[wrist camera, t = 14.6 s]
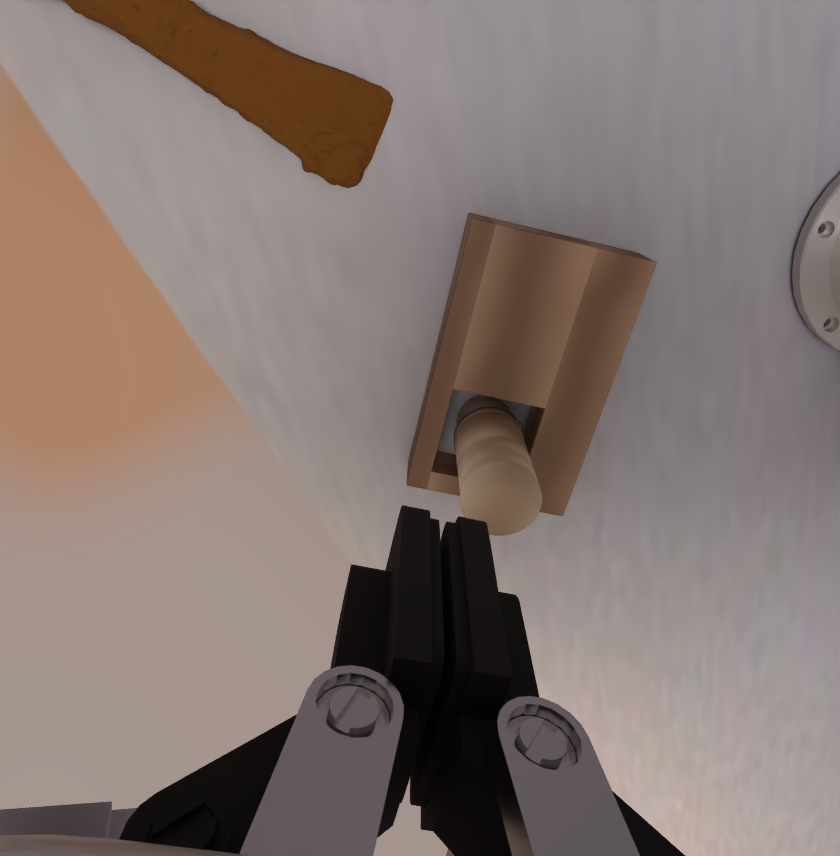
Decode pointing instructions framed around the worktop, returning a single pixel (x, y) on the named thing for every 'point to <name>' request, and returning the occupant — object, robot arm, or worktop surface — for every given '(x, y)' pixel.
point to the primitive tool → (260, 82)
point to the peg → (495, 467)
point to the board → (531, 345)
